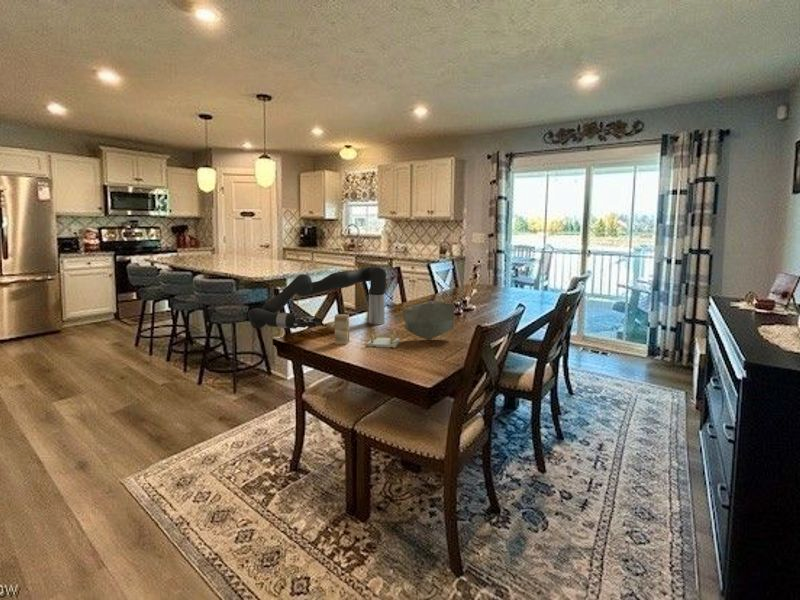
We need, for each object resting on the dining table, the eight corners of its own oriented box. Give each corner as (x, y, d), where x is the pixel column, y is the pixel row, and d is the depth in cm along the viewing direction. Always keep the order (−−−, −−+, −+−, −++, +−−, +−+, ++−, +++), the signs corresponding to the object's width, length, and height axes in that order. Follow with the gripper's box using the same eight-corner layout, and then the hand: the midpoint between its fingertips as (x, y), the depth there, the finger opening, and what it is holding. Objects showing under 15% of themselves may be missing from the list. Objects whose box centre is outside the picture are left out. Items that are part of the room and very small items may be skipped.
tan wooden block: (337, 341, 215) (336, 314, 213) (349, 342, 214) (348, 314, 212) (335, 343, 211) (334, 315, 209) (346, 344, 210) (346, 316, 208)
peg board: (372, 339, 220) (372, 329, 219) (399, 340, 217) (399, 330, 216) (366, 346, 208) (366, 335, 207) (395, 347, 206) (395, 337, 205)
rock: (403, 342, 215) (403, 302, 212) (401, 338, 221) (401, 300, 218) (455, 340, 219) (456, 301, 215) (452, 337, 225) (453, 299, 221)
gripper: (281, 316, 207) (314, 318, 205) (293, 310, 221) (323, 312, 219) (281, 331, 208) (314, 333, 206) (293, 324, 222) (324, 326, 220)
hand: (319, 322), depth 212 cm, fingers open, 8 cm apart
